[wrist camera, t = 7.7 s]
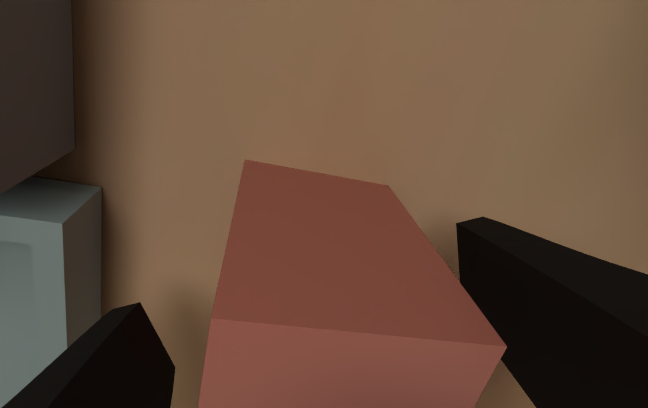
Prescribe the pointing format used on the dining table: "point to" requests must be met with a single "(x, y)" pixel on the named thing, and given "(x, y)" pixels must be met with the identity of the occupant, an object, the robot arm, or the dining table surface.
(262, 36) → the dining table surface
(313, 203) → the block
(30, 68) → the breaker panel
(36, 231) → the tray
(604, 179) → the dining table surface
